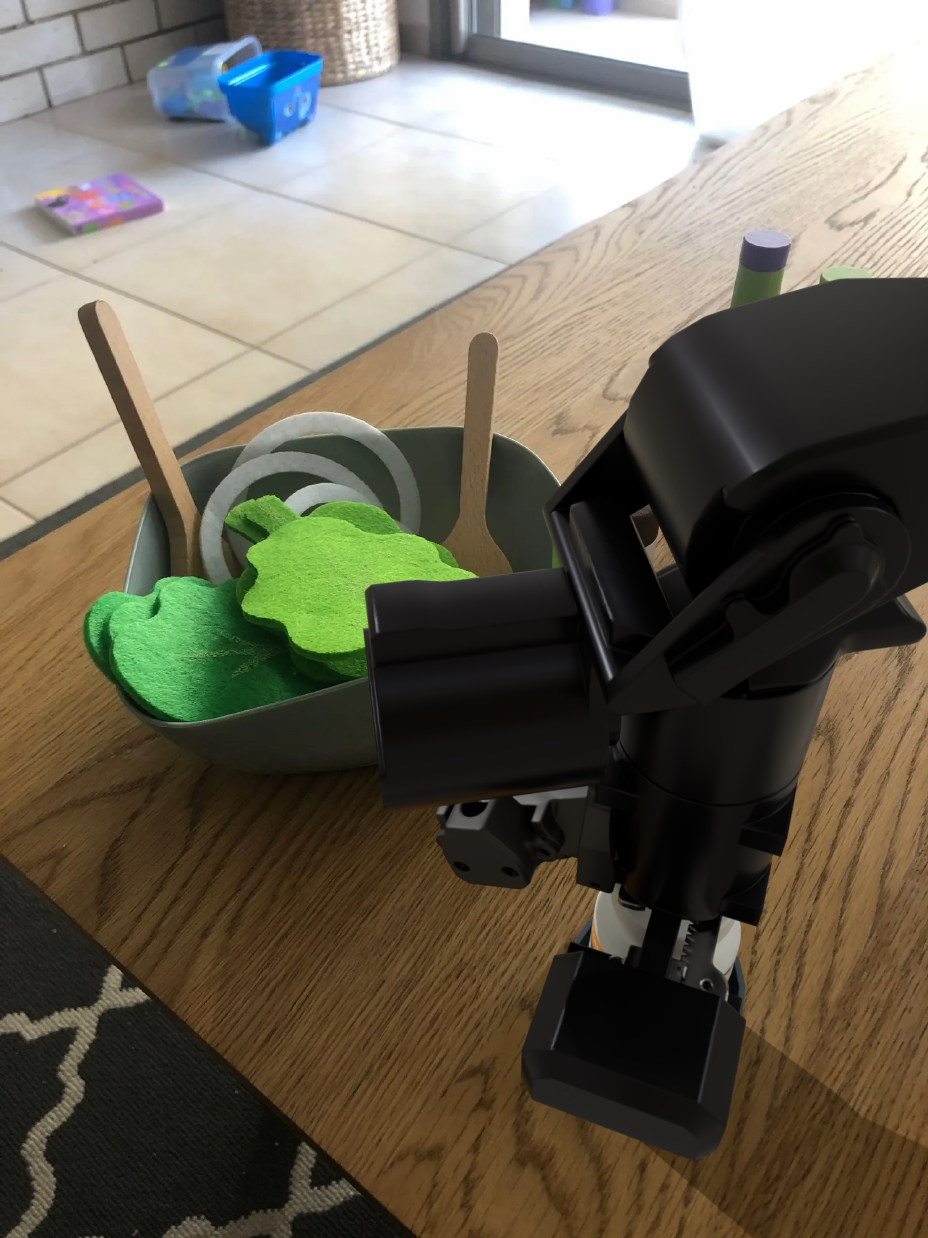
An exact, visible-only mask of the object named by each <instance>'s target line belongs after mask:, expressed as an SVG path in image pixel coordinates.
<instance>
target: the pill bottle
mask: <svg viewBox="0 0 928 1238" xmlns="http://www.w3.org/2000/svg"><path fill="white" fill-rule="evenodd" d="M620 886H621V884H617V883H616V884H615V887H614V891H613V892H612V893H610V894H609V893H605V892H601V891H599V892H598V895H597V897H596V901H595V905H594V909H593V916H592V917H593V923H592V930H591V937H590V942H589V947H590V948H593V949H596V950H599V951H602V952H605V953H608V954H611V955H616V956H619V957H621V958H623V959H624V957H626V955H627V952H628V948H629V945H630V944H632V945H635V946H638V947H642V943H643V940H644V936H645V933H646V929H647V925H648V922H649V918H650V915H651V911H652V910H650V909H649V908H647V907H646V909H645V911H635V910H631V909H628V908H625V907H623V906H621V905H620V904H619V903H618V893H619V890H620ZM689 924H693V923H691V922H690V921H688V920H682V922H681V926H680V930H679V934H678V938H677V941H676V945H675V949H674V953H673V957H672V958H675V959H678V960H680V958H681V955H686V954H685V953H683V952H682V950H683V946H684V944H688V943H686V942H685V938H686V934H690V933H689V932H688V931H687V929H688V925H689ZM741 929H742V926H741V922H740V921H736V920H733V919H730V918H727V917H722V921H721V926H720V930H719V935H718V939H717V944H716V948H715V953H714V957H713V964H714V966H715V967H716V968H717V969H718V970H719V971H721V972H722V973H723V974H724V976H725V977H726V979H727V981H728V980H729V977H730V974H731V972H732V968H733V965H734V962H735V959H736V956H737V957H738V953H739V949H740V945H741V940H742V933H741V932H742V930H741ZM686 969H687V967H686V966H685V968H684V972H683V976H685V972H686Z"/></svg>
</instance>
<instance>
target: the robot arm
mask: <svg viewBox="0 0 928 1238" xmlns="http://www.w3.org/2000/svg"><path fill="white" fill-rule="evenodd" d="M647 365H648V368H646V371H645V373H644V374H643V376H642V378H641V380H640V381H639V383H638V385H637V387H636V389H635V390H634V391H633V394H632V395H631V397H630V399H629V403H628V406H627V408H626V409H625V411H624V412H623V413H622V414H621V415H620V416H619V418H618V419H617V420H616V421H615V422H614V423H613V424H612V425H611V427H609V429H608V430H607V431H606V432H605V434H604V435H603V436H602V437H601V438H600V439H599V440H598V442H597V443H596V444H595V445H594V446H593V447H592V449H590V451H589V452H588V453H587V455H585V456H584V458H583V459H582V460H581V461H580V462H579V464H578V465H577V466H576V467H575V468H574V470H573V471H571V473H570V474H569V475H568V476H567V477H566V478H565V480H564V481H563V482H562V483H561V484H560V486H559V487H558V488H557V489H556V490H555V492H553V494H552V495H551V496H550V497H549V498H548V499H547V501H546V502H545V503H544V505H543V506H542V509H541V512H542V515H543V519H544V522H545V525H546V528H547V530H548V534H549V536H550V539H551V542H552V559H551V568H544V569H535V570H528V571H527V570H526V571H519V572H510V573H503V574H495V575H494V574H493V575H487V576H477V577H470V578H461V579H454V580H453V579H452V580H428V579H406V580H405V579H404V580H398V581H390V582H381V583H373V584H370V585H369V586H368V587H367V588H366V589H365V590H364V592H363V593H364V601H365V610H366V618H367V619H366V620H367V627H363V628H362V633H363V643H364V651H365V657H366V658H365V660H366V661H365V662H366V670H367V676H368V688H369V698H370V705H371V714H372V723H373V732H374V741H375V742H374V743H375V752H376V761H377V769H378V778H379V786H380V793H381V798H382V806H383V811H384V815H388V814H389V815H390V814H395V813H403V812H404V813H405V812H411V811H417V810H425V809H432V808H437V809H436V811H435V813H434V814H435V817H436V819H437V821H438V823H439V831H438V833H437V835H436V837H435V842H436V844H437V846H439V848H440V849H441V850H442V854H443V856H444V858H445V860H446V861H447V863H448V865H449V867H450V868H451V870H452V872H453V873H454V875H455V876H456V877H457V878H458V879H460V880H462V881H463V882H465V883H466V884H470V885H477V886H486V887H494V888H502V889H512V890H522V889H526V888H527V887H528V886H529V885H531V883H532V881H533V877H534V874H535V872H536V870H537V868H538V867H539V866H540V865H541V864H543V863H553V862H556V861H557V860H559V861H560V860H568V859H571V858H575V859H577V861H576V873H575V884H577V885H579V886H583V887H586V888H589V889H592V890H595V891H599V892H600V891H601V892H605V893H609V894H610V893H612V892H613V891H614V887H615V884H616V883H617V884H621V886H620V890H619V893H618V903H619V904H620V905H621V906H623V907H625V908H628V909H631V910H635V911H645V909H646V907H647V908H649V909H650V910H652V911H651V915H650V918H649V922H648V925H647V929H646V933H645V936H644V940H643V943H642V947H638V946H635V945H632V944H630V945H629V948H628V952H627V955H626V957H624V959H623V958H621V957H619V956H616V955H611V954H608V953H605V952H602V951H599V950H596V949H593V948H590V947H587V946H584V945H581V944H578V943H575V942H574V941H569V944H568V947H567V950H566V953H565V952H564V953H560V954H554V955H553V958H552V961H551V964H550V967H549V970H548V973H547V975H546V978H545V981H544V985H543V988H542V990H541V994H540V996H539V999H538V1002H537V1005H536V1008H535V1011H534V1014H533V1017H532V1019H531V1023H530V1025H529V1028H528V1031H527V1034H526V1037H525V1040H524V1043H523V1046H522V1049H521V1052H520V1053H521V1054H520V1077H521V1080H522V1081H523V1082H522V1083H523V1085H524V1086H525V1088H526V1090H527V1092H528V1095H529V1097H530V1098H531V1101H534V1102H537V1103H540V1104H541V1105H545V1106H547V1107H550V1108H553V1109H556V1110H558V1111H560V1112H563V1113H566V1114H568V1115H571V1116H573V1117H577V1118H578V1119H581V1120H584V1121H587V1122H590V1123H592V1124H595V1125H597V1126H599V1127H602V1128H605V1129H607V1130H610V1131H612V1132H615V1133H618V1134H620V1135H622V1136H626V1137H628V1138H631V1139H634V1140H636V1141H639V1142H642V1143H644V1144H647V1145H649V1146H653V1147H655V1148H657V1149H660V1150H663V1151H665V1152H668V1153H670V1154H673V1155H675V1156H679V1157H681V1158H684V1159H686V1160H688V1161H692V1162H694V1163H695V1162H698V1161H699V1160H701V1159H703V1158H704V1157H706V1156H709V1155H711V1154H712V1153H714V1152H716V1151H718V1149H719V1147H720V1144H721V1142H722V1139H723V1137H724V1134H725V1132H726V1129H727V1126H728V1122H729V1121H728V1120H729V1115H730V1110H731V1104H732V1100H733V1094H734V1090H735V1084H736V1078H737V1073H738V1067H739V1063H740V1058H741V1051H742V1046H743V1042H744V1036H745V1030H746V1025H747V1019H746V1018H745V1017H744V1016H743V1014H742V1015H741V1014H740V1009H741V1004H742V998H741V997H738V996H735V995H732V994H729V984H728V981H727V979H726V977H725V976H724V974H723V973H722V972H721V971H719V970H718V969H717V968H716V967H715V966H714V964H713V957H714V953H715V948H716V944H717V939H718V935H719V930H720V926H721V921H722V917H727V918H730V919H733V920H736V921H740V923H744V924H746V925H750V926H753V927H756V928H757V927H758V926H759V923H760V920H761V918H762V914H763V911H764V906H765V900H766V895H767V890H768V884H769V880H770V875H771V870H772V865H773V857H774V856H776V857H780V858H782V855H783V853H784V850H785V847H786V844H787V841H788V838H789V834H790V828H791V827H790V826H791V823H792V822H791V821H792V817H793V811H794V805H795V799H796V793H797V789H798V783H799V779H800V775H801V772H802V769H803V767H804V763H805V760H806V756H807V753H808V751H809V748H810V745H811V742H812V739H813V736H814V732H815V729H816V727H817V724H818V721H819V717H820V714H821V712H822V708H823V705H824V702H825V699H826V696H827V694H828V690H829V688H830V685H831V681H832V679H833V675H834V672H835V669H836V665H837V662H838V659H840V658H841V657H843V656H844V655H847V654H853V653H858V652H866V651H874V650H881V649H882V650H883V649H888V648H889V649H890V648H897V647H903V646H910V645H914V644H917V643H919V642H920V641H922V640H923V639H924V638H925V636H926V635H927V632H928V627H927V624H926V623H925V621H924V619H923V618H922V617H921V615H920V614H919V612H918V611H917V609H916V608H915V607H914V605H913V604H912V602H911V601H910V599H909V598H908V596H907V595H906V594H907V593H909V592H912V591H914V590H915V589H917V588H919V587H921V586H924V585H925V584H927V583H928V276H921V277H920V276H919V277H916V276H914V277H912V276H911V277H908V276H907V277H906V276H905V277H849V278H848V277H844V278H836V279H832V280H829V281H825V282H821V283H817V284H813V285H810V286H806V287H802V288H798V289H794V290H791V291H787V292H784V293H780V294H776V295H772V296H770V297H766V298H762V299H757V300H755V301H751V302H747V303H742V304H739V305H736V306H732V307H729V308H725V309H721V310H719V311H716V312H713V313H710V314H708V315H704V316H702V317H701V318H699V319H698V320H696V321H694V322H692V323H691V324H689V325H688V326H686V327H684V328H683V329H681V330H679V331H677V332H676V333H674V334H672V335H671V336H669V338H667V339H666V340H665V341H664V342H663V343H662V344H661V345H660V346H659V347H658V348H656V349H655V350H654V351H653V352H652V353H651V355H650V356H649V358H648V362H647ZM647 506H649V508H650V510H651V512H652V514H653V516H654V518H655V521H656V522H657V526H658V527H659V530H660V531H661V533H662V536H663V538H664V540H665V542H666V544H667V546H668V549H669V551H670V553H671V555H672V557H673V560H674V561H675V562H673V563H671V564H668V565H666V566H664V567H662V568H661V569H659V570H657V571H656V570H655V568H654V565H653V562H652V561H651V558H650V556H649V553H648V551H647V549H646V546H645V544H644V542H643V540H642V537H641V535H640V533H639V530H638V529H637V526H636V523H635V521H634V519H633V518H632V517H633V515H635V514H636V513H637V512H639V511H641V510H642V509H644V508H645V507H647ZM682 920H688V921H690V922H691V923H693V924H689V925H688V929H687V931H688V932H689V933H690V934H686V938H685V942H686V943H688V944H684V946H683V950H682V952H683V953H685V954H686V955H681V958H680V960H678V959H675V958H672V957H673V953H674V949H675V945H676V941H677V938H678V934H679V930H680V926H681V922H682ZM685 966H686V967H687V969H686V972H685V976H683V972H684V968H685Z"/></svg>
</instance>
